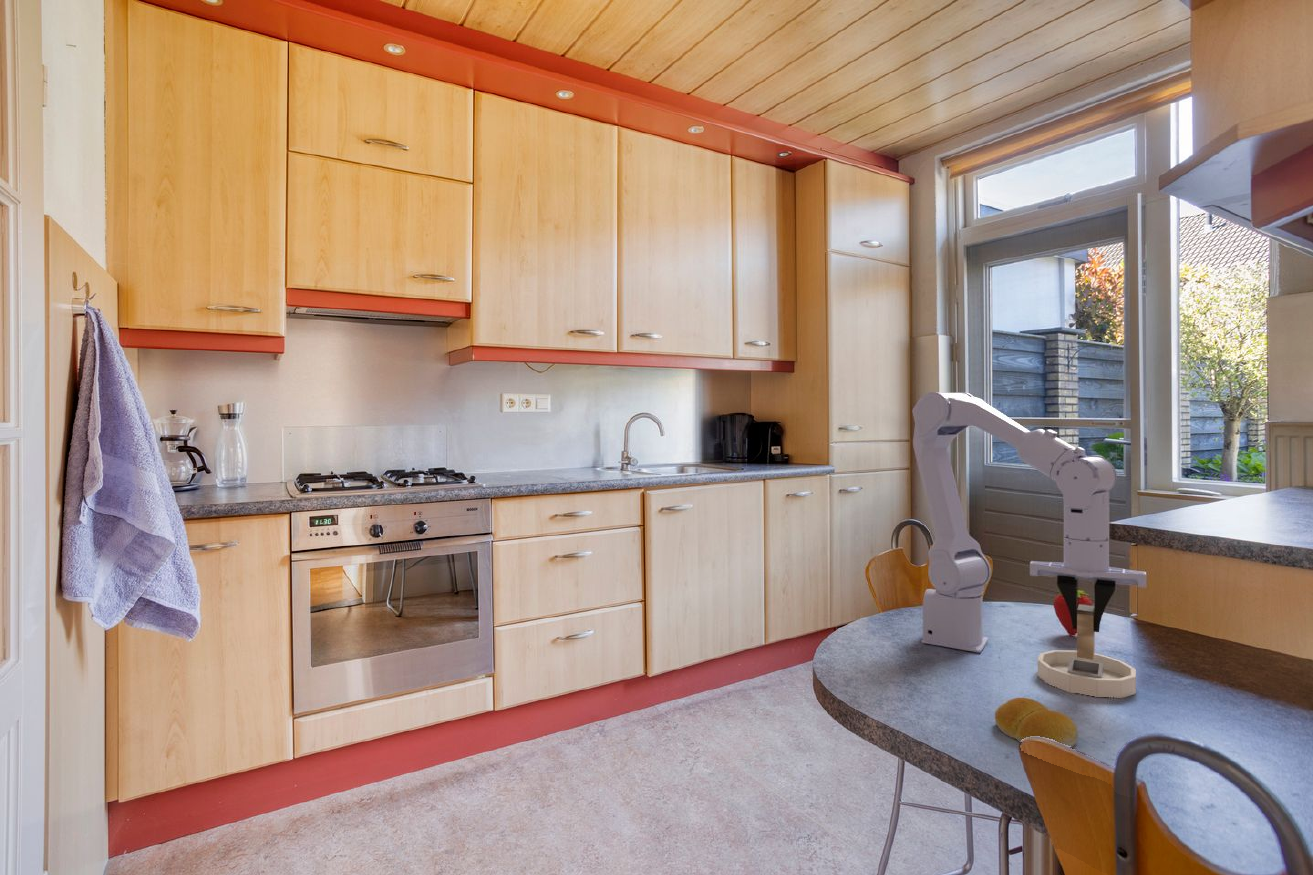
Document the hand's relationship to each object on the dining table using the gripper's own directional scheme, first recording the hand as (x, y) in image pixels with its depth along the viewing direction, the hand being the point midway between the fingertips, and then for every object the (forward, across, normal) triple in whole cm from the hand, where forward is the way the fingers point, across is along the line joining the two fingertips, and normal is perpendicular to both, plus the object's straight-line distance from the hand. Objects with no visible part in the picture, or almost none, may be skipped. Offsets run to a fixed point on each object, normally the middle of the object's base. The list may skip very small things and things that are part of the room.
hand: (1085, 628), depth 100 cm
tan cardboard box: (+4, 0, 0) cm, 4 cm away
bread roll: (+8, -4, -23) cm, 25 cm away
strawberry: (+8, -3, +23) cm, 25 cm away
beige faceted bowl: (+8, 0, 0) cm, 8 cm away
